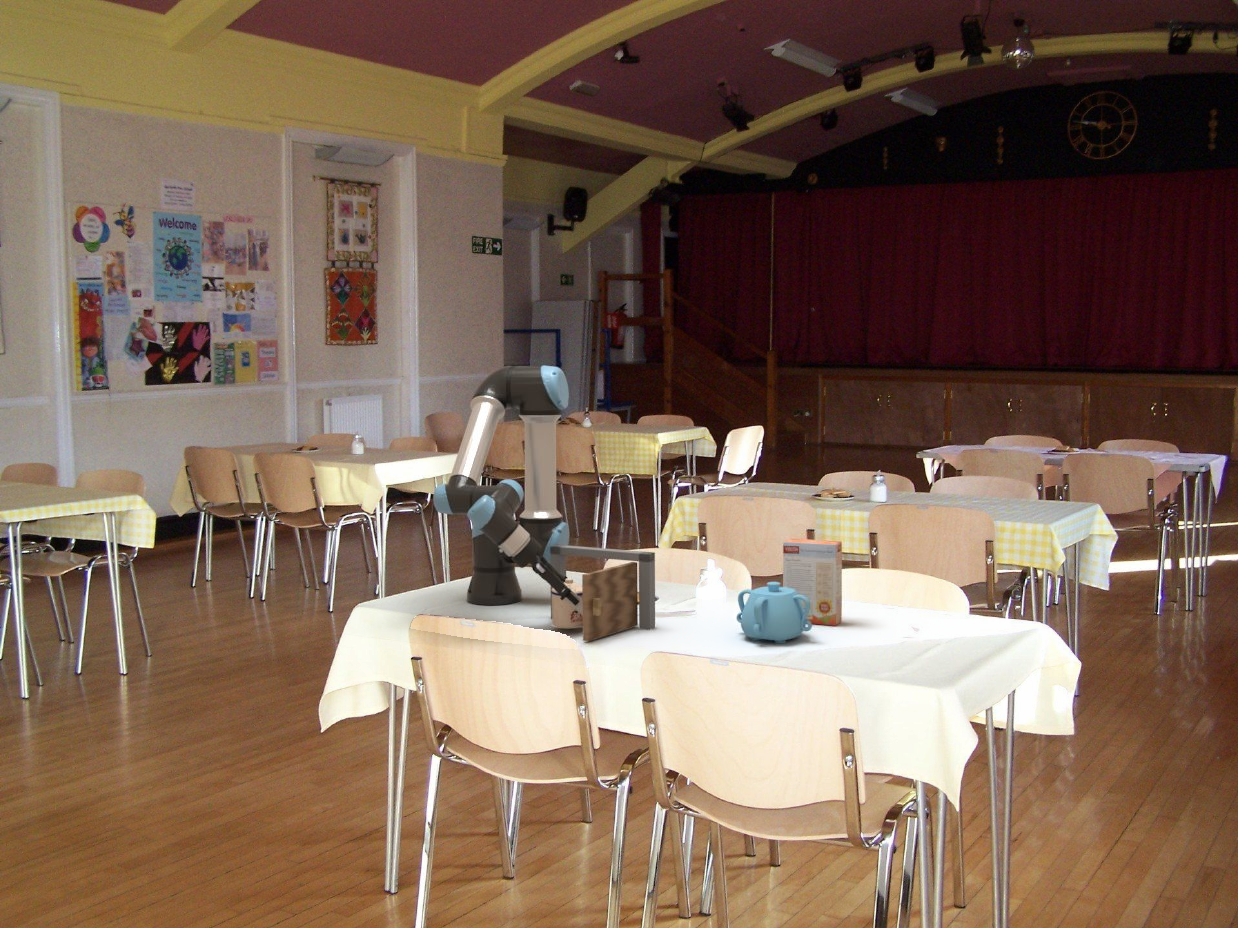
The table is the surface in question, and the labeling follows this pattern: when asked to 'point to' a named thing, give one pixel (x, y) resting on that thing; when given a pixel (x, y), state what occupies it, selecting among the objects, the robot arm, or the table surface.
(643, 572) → the door frame
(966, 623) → the table surface
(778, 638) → the decorative pot
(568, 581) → the teacup with lid
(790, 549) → the cracker box
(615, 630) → the door
